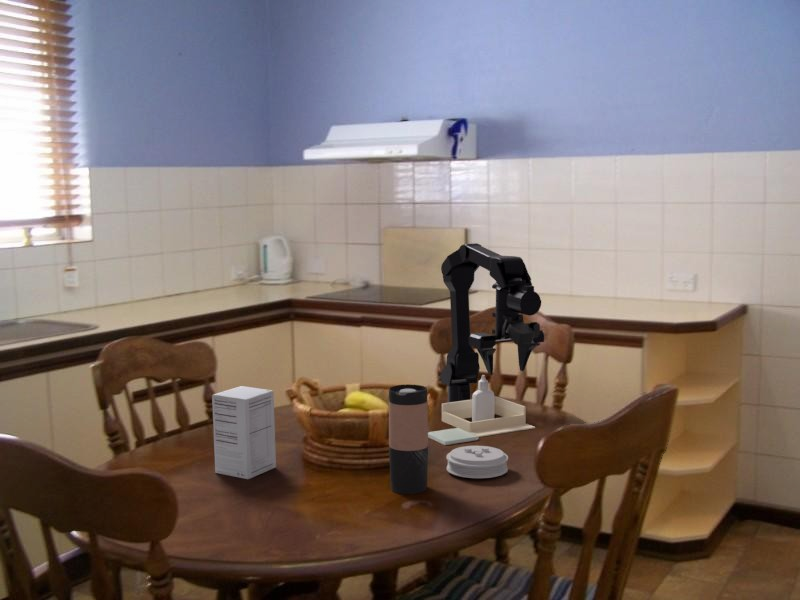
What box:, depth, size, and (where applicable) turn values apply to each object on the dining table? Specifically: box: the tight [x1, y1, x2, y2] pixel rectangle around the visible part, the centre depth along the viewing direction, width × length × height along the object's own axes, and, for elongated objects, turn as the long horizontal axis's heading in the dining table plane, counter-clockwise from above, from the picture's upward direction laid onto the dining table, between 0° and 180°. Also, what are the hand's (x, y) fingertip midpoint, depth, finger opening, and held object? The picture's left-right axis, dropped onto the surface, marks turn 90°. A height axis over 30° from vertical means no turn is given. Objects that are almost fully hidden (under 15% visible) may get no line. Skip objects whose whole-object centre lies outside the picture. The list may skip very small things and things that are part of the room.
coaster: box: [428, 427, 479, 446], centre depth 223 cm, size 9×9×1 cm
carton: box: [441, 395, 536, 438], centre depth 234 cm, size 17×16×4 cm
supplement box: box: [211, 385, 277, 480], centre depth 198 cm, size 10×9×17 cm
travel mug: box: [388, 384, 429, 495], centre depth 185 cm, size 8×8×20 cm
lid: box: [446, 445, 509, 479], centre depth 196 cm, size 13×13×5 cm
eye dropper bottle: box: [471, 374, 495, 422], centre depth 235 cm, size 4×6×12 cm
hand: (506, 372), depth 230 cm, fingers open, 9 cm apart
